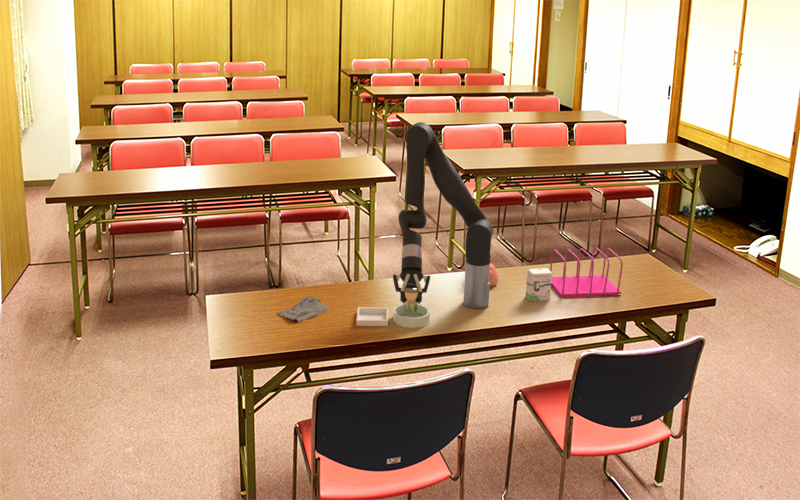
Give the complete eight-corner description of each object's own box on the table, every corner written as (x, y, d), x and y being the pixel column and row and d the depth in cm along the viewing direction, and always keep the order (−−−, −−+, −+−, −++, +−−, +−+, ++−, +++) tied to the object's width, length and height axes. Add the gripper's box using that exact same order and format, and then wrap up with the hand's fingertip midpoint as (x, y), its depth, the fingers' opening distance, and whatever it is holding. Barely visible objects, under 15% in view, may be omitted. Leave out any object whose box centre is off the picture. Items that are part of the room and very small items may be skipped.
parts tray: (388, 313, 264) (388, 307, 263) (387, 327, 254) (387, 320, 253) (358, 313, 264) (358, 307, 263) (356, 326, 254) (356, 320, 253)
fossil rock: (296, 325, 255) (295, 319, 254) (271, 312, 265) (271, 306, 264) (334, 311, 267) (334, 305, 266) (309, 299, 277) (309, 293, 276)
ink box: (529, 301, 277) (532, 273, 273) (524, 296, 281) (527, 269, 277) (550, 300, 279) (553, 272, 275) (545, 295, 283) (547, 267, 279)
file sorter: (546, 281, 297) (550, 245, 292) (603, 279, 301) (608, 244, 295) (560, 298, 281) (564, 261, 276) (621, 295, 284) (626, 259, 279)
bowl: (428, 313, 265) (429, 303, 264) (430, 329, 253) (430, 319, 252) (393, 312, 265) (393, 302, 264) (392, 328, 253) (393, 318, 251)
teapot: (476, 291, 285) (477, 269, 282) (461, 275, 301) (462, 254, 298) (504, 289, 288) (506, 267, 285) (487, 272, 305) (489, 251, 301)
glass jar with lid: (417, 306, 260) (418, 285, 257) (417, 312, 255) (418, 291, 252) (403, 306, 260) (404, 284, 257) (403, 312, 255) (404, 290, 252)
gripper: (392, 254, 258) (391, 298, 251) (432, 255, 258) (431, 299, 251) (392, 262, 265) (390, 305, 258) (430, 263, 265) (430, 306, 258)
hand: (411, 302), depth 255 cm, fingers closed on glass jar with lid, 5 cm apart
